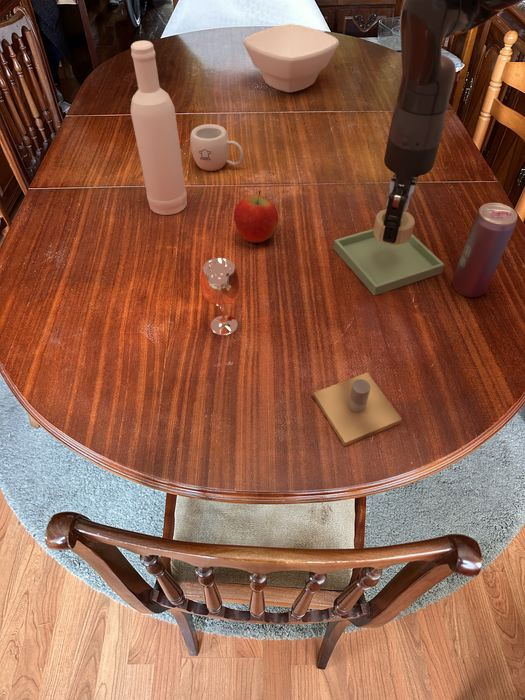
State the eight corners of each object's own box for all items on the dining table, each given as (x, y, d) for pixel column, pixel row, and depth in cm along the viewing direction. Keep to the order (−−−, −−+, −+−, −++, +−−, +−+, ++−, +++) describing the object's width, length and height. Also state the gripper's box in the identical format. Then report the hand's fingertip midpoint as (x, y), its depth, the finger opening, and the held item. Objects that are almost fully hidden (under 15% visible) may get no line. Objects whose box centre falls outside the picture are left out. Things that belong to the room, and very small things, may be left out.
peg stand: (366, 376, 75) (372, 352, 71) (401, 423, 70) (409, 400, 66) (312, 396, 73) (315, 372, 69) (344, 446, 68) (349, 424, 63)
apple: (229, 231, 99) (226, 185, 91) (267, 222, 101) (267, 176, 93) (243, 255, 94) (241, 209, 86) (283, 245, 96) (285, 199, 88)
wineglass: (221, 344, 80) (215, 287, 71) (199, 324, 83) (190, 267, 73) (249, 326, 82) (246, 269, 73) (226, 307, 85) (222, 250, 76)
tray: (396, 229, 99) (398, 221, 97) (441, 273, 90) (444, 264, 89) (333, 248, 95) (334, 240, 94) (373, 295, 87) (375, 287, 85)
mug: (187, 171, 113) (182, 137, 108) (201, 153, 119) (197, 120, 113) (237, 179, 111) (236, 145, 105) (249, 161, 116) (249, 127, 110)
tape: (397, 219, 91) (400, 204, 89) (418, 239, 87) (422, 224, 85) (366, 228, 89) (369, 213, 87) (386, 248, 86) (389, 234, 83)
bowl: (234, 84, 144) (232, 39, 135) (289, 64, 154) (291, 20, 145) (289, 110, 133) (291, 62, 125) (345, 86, 143) (350, 40, 134)
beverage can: (490, 299, 86) (524, 224, 75) (455, 298, 86) (483, 224, 75) (481, 275, 90) (511, 201, 79) (447, 275, 90) (473, 201, 79)
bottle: (149, 217, 102) (116, 54, 79) (148, 196, 107) (117, 37, 84) (189, 213, 103) (167, 51, 80) (186, 192, 108) (165, 34, 85)
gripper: (432, 163, 70) (407, 259, 82) (447, 118, 78) (421, 211, 91) (379, 154, 71) (362, 248, 84) (398, 111, 80) (380, 202, 93)
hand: (393, 229), depth 88 cm, fingers closed on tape, 6 cm apart
